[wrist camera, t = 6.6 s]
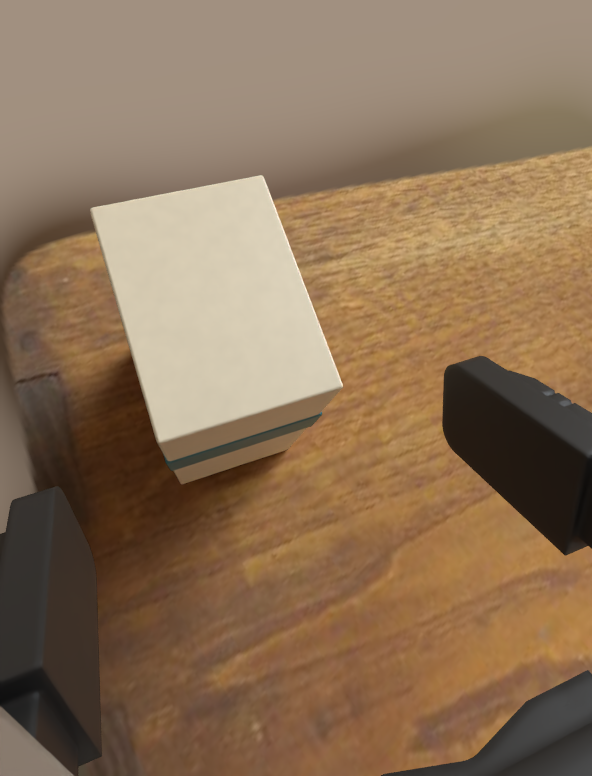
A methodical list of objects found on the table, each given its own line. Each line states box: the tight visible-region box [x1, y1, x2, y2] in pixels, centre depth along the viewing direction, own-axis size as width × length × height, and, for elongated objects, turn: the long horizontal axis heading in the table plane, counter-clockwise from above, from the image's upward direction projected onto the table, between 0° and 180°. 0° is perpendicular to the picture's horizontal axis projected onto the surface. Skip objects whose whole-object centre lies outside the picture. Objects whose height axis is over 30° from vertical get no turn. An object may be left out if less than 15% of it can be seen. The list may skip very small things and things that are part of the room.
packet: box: [90, 176, 343, 484], centre depth 16 cm, size 4×6×9 cm
